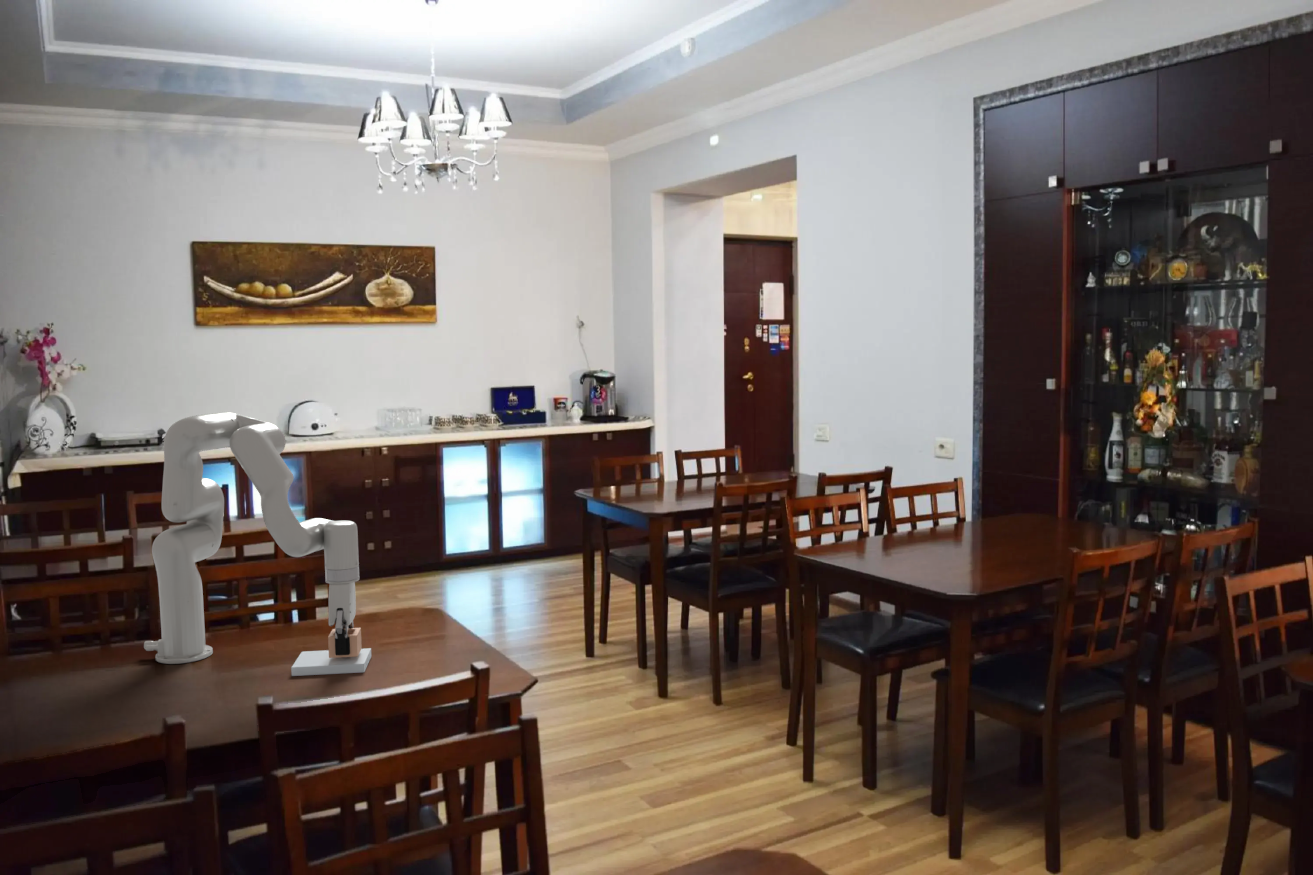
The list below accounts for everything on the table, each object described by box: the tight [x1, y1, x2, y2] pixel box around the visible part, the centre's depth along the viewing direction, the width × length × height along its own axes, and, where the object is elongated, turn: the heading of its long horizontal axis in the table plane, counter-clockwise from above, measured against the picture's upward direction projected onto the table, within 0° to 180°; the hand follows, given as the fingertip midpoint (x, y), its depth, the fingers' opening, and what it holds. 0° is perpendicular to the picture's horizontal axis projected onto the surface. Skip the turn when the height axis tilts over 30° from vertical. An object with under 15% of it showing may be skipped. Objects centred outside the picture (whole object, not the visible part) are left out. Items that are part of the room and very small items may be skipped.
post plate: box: [290, 647, 372, 677], centre depth 241 cm, size 16×12×7 cm
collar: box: [327, 627, 363, 658], centre depth 241 cm, size 6×6×5 cm
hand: (345, 649), depth 242 cm, fingers closed on collar, 6 cm apart
